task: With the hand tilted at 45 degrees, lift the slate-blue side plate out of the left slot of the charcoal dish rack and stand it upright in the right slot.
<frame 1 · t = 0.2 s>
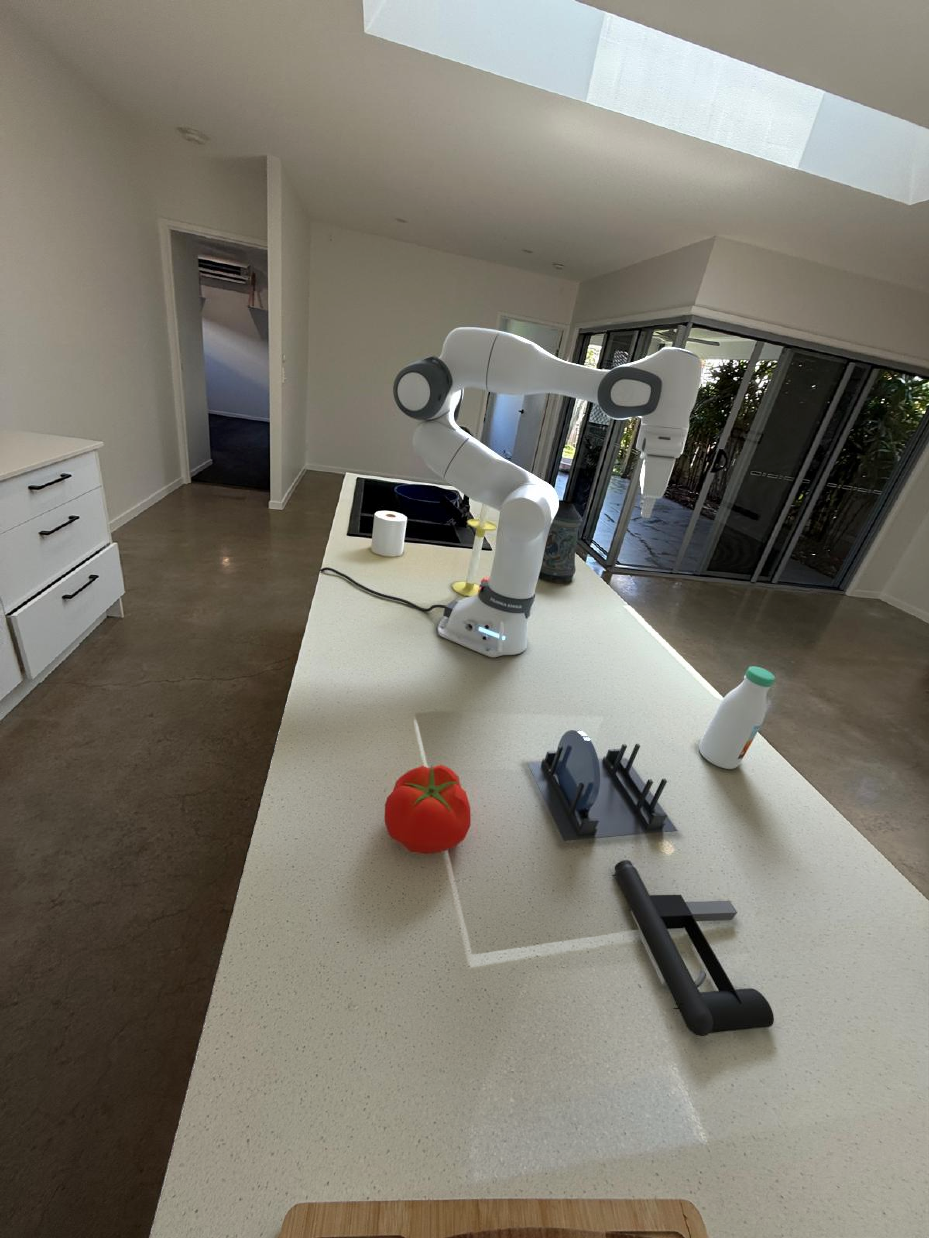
hand: (644, 512, 105), 39 cm above the counter, tool pointing down, fingers open, 8 cm apart
door handle: (690, 944, 65), on the counter
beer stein: (545, 573, 176), on the counter
toilet paper: (386, 551, 167), on the counter
candle: (468, 590, 151), on the counter
rack: (597, 798, 84), on the counter
milk bottle: (717, 756, 101), on the counter
tomato: (425, 830, 73), on the counter
plate: (566, 796, 82), point 1 cm above the counter, touching rack
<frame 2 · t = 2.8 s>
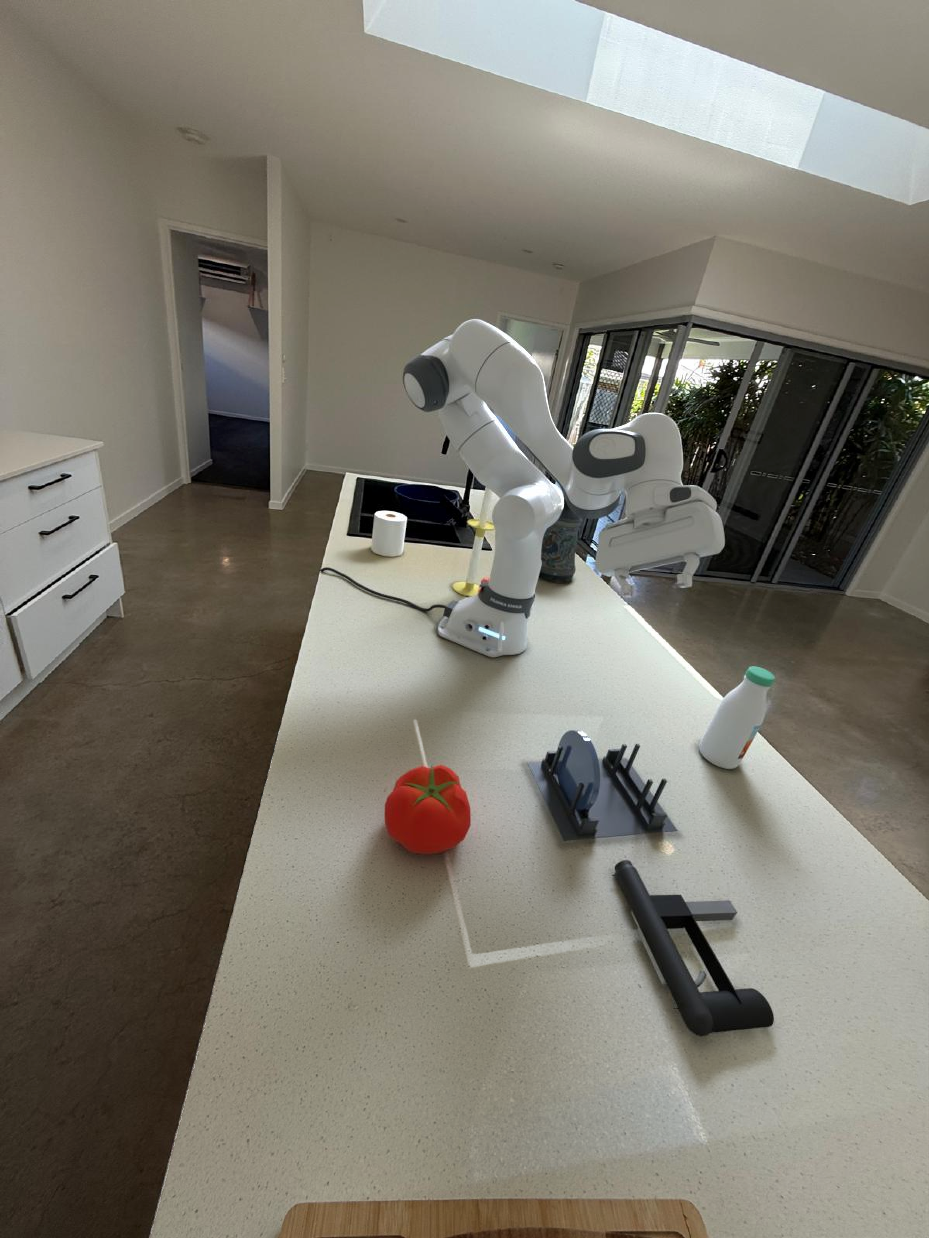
hand: (654, 591, 79), 34 cm above the counter, tool tilted 40°, fingers open, 8 cm apart
nothing on the counter moved.
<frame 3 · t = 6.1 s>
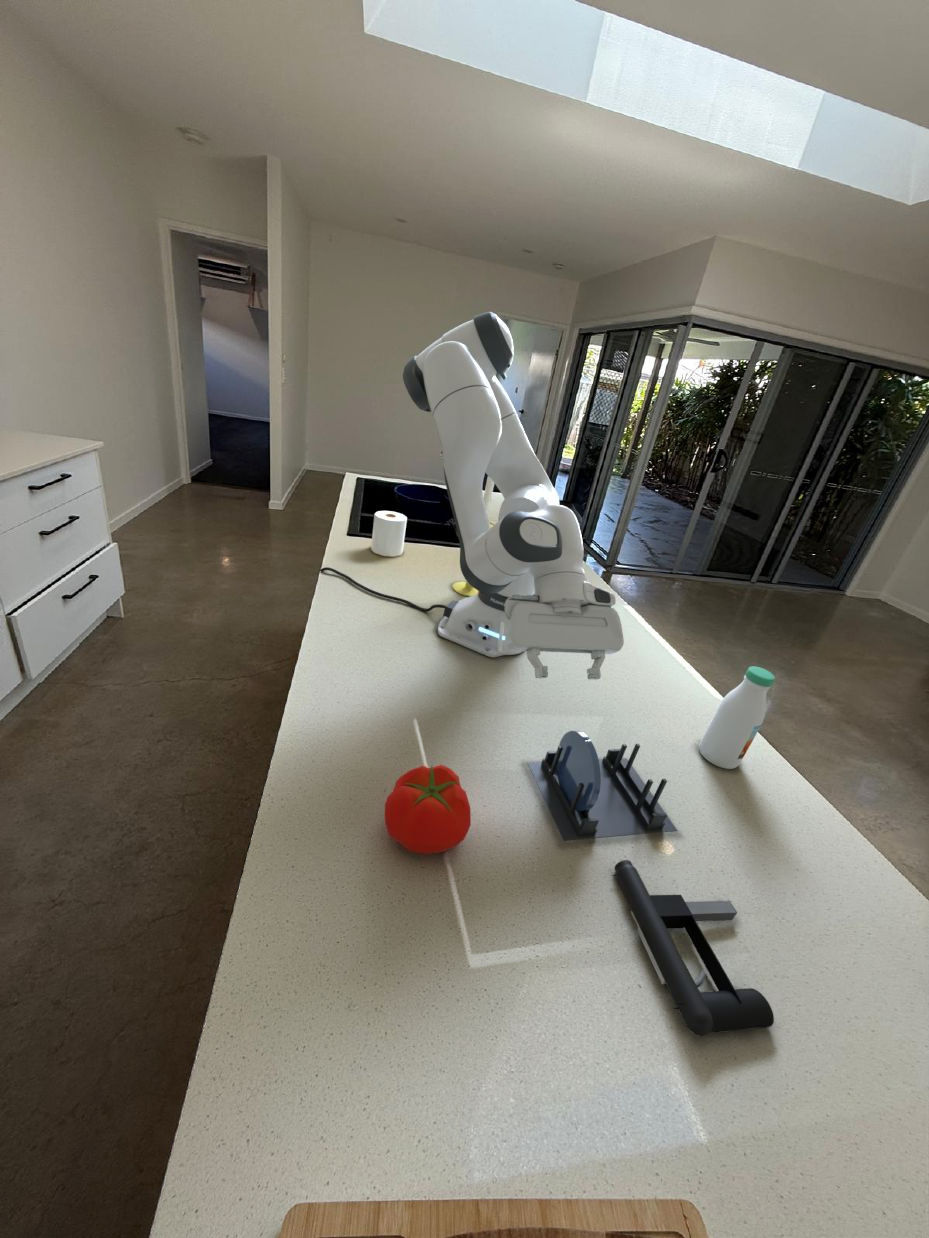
hand: (568, 678, 82), 18 cm above the counter, tool tilted 45°, fingers open, 8 cm apart
nothing on the counter moved.
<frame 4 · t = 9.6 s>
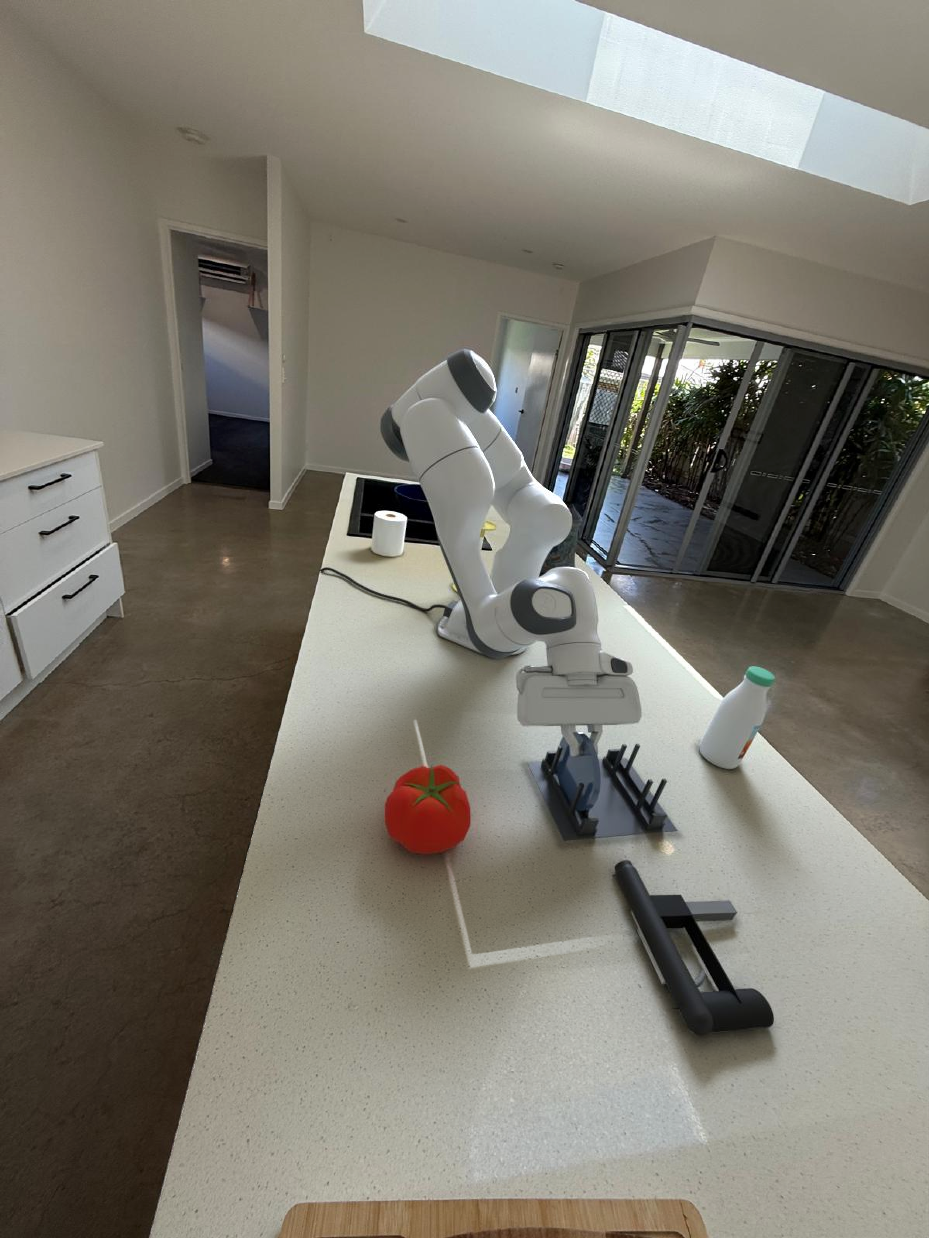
hand: (584, 755, 77), 10 cm above the counter, tool tilted 45°, fingers closed on plate, 1 cm apart
plate: (566, 796, 82), point 1 cm above the counter, touching gripper, rack
everything else where it was.
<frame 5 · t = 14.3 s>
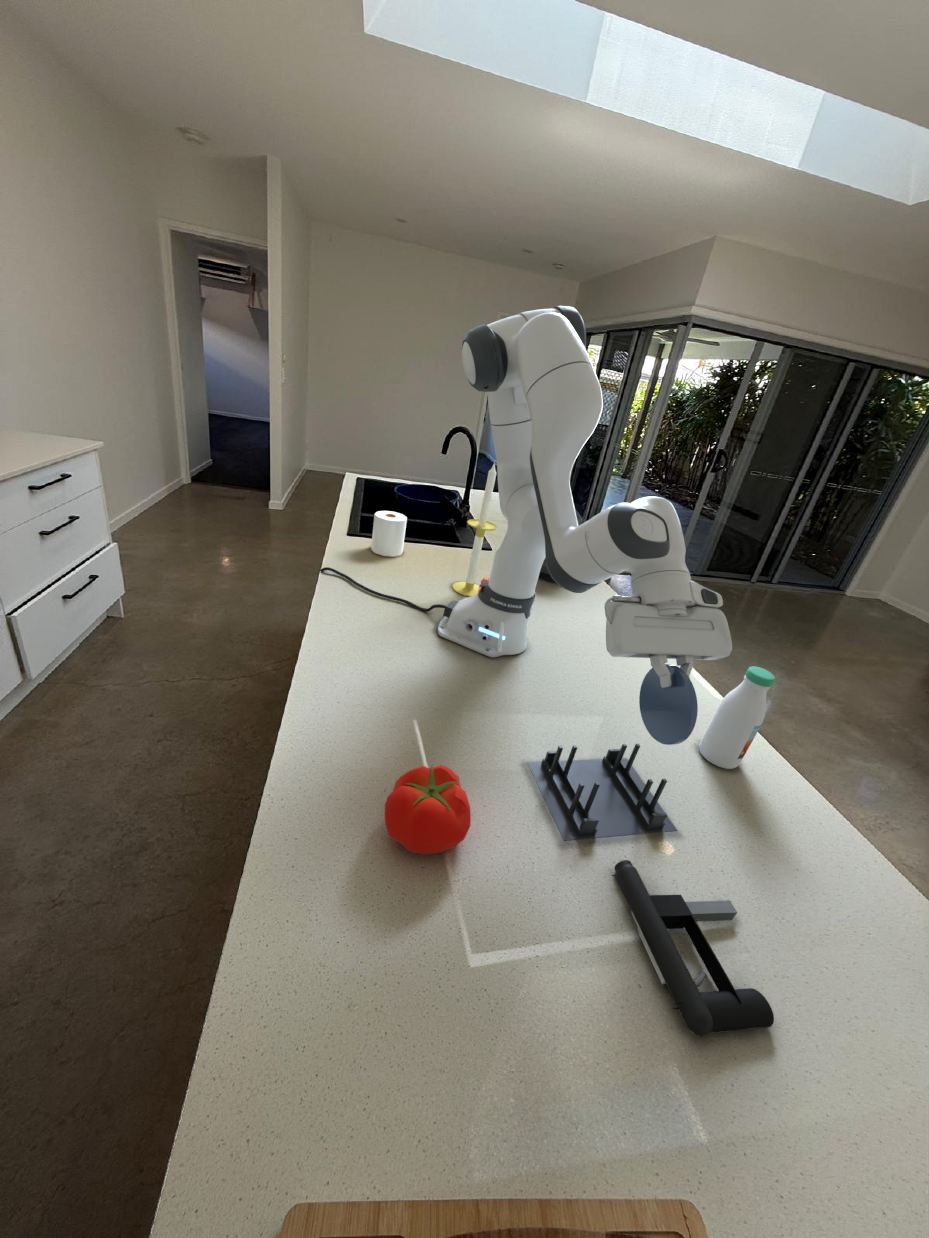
hand: (676, 687, 75), 23 cm above the counter, tool tilted 45°, fingers closed on plate
plate: (652, 733, 79), point 14 cm above the counter, touching gripper
everything else where it was.
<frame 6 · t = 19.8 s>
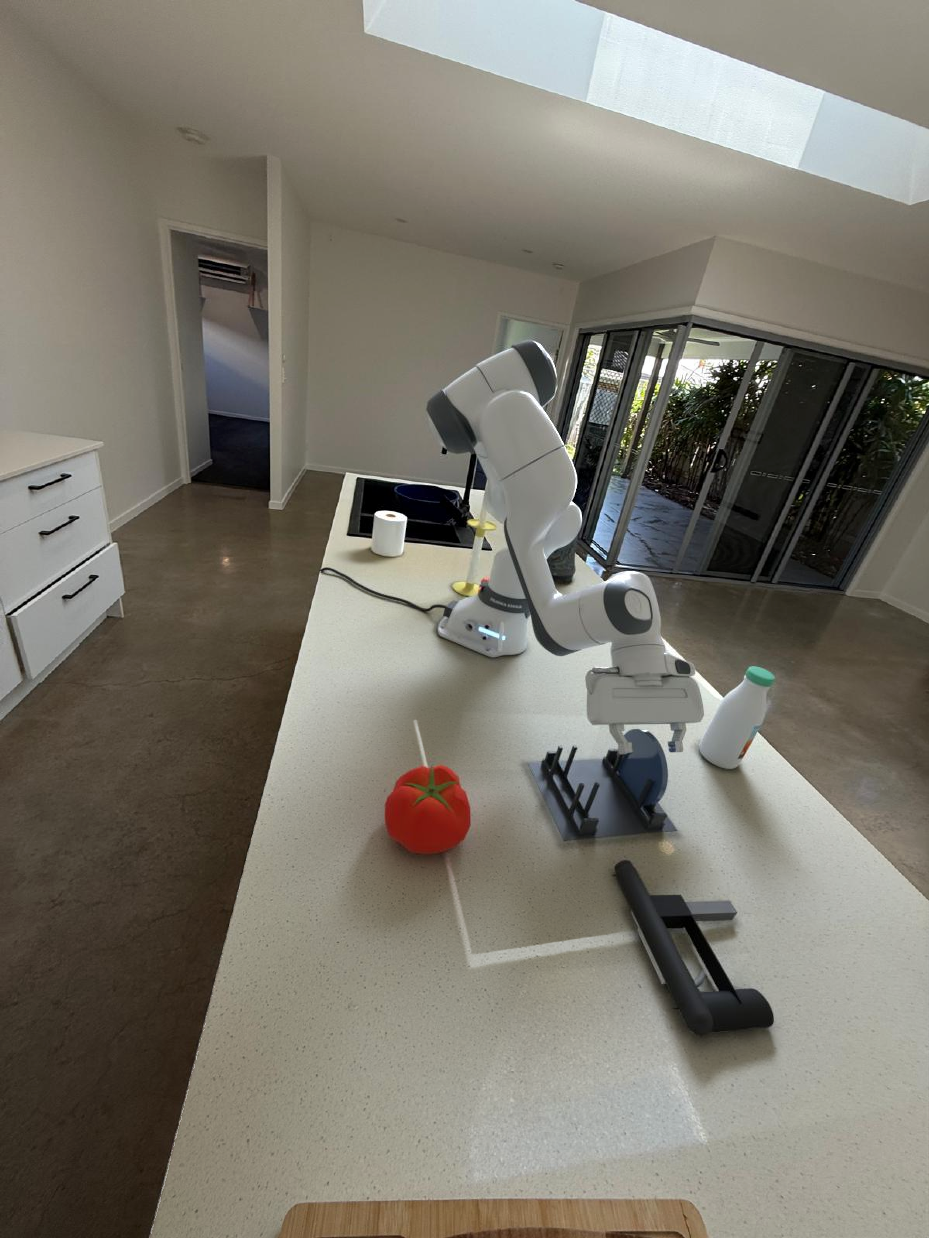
hand: (651, 753, 81), 10 cm above the counter, tool tilted 45°, fingers open, 8 cm apart
plate: (629, 793, 86), point 1 cm above the counter, touching rack
everything else where it was.
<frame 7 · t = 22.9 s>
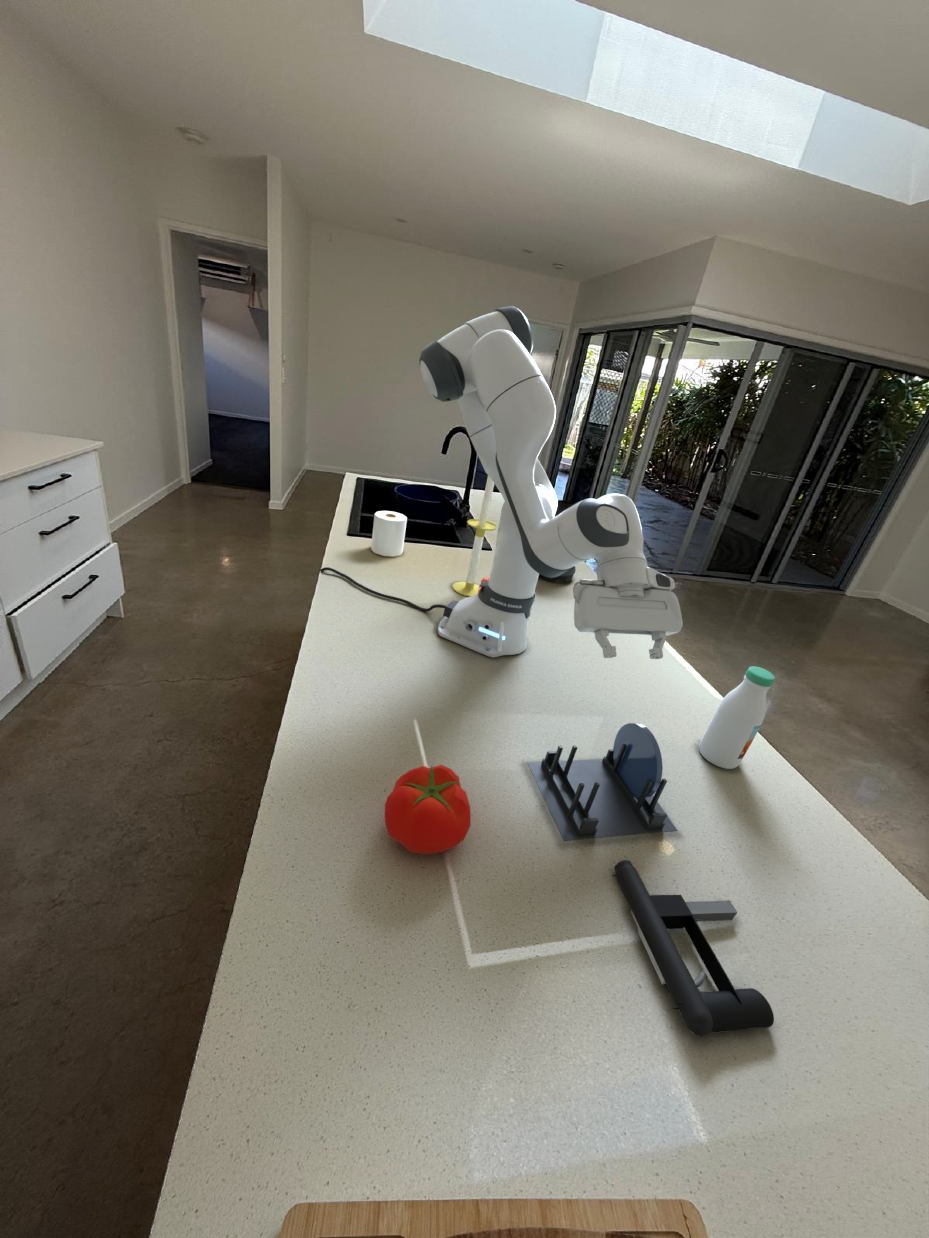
hand: (633, 658, 87), 20 cm above the counter, tool tilted 45°, fingers open, 8 cm apart
plate: (629, 792, 85), point 1 cm above the counter, tilted 15°, touching rack
everything else where it was.
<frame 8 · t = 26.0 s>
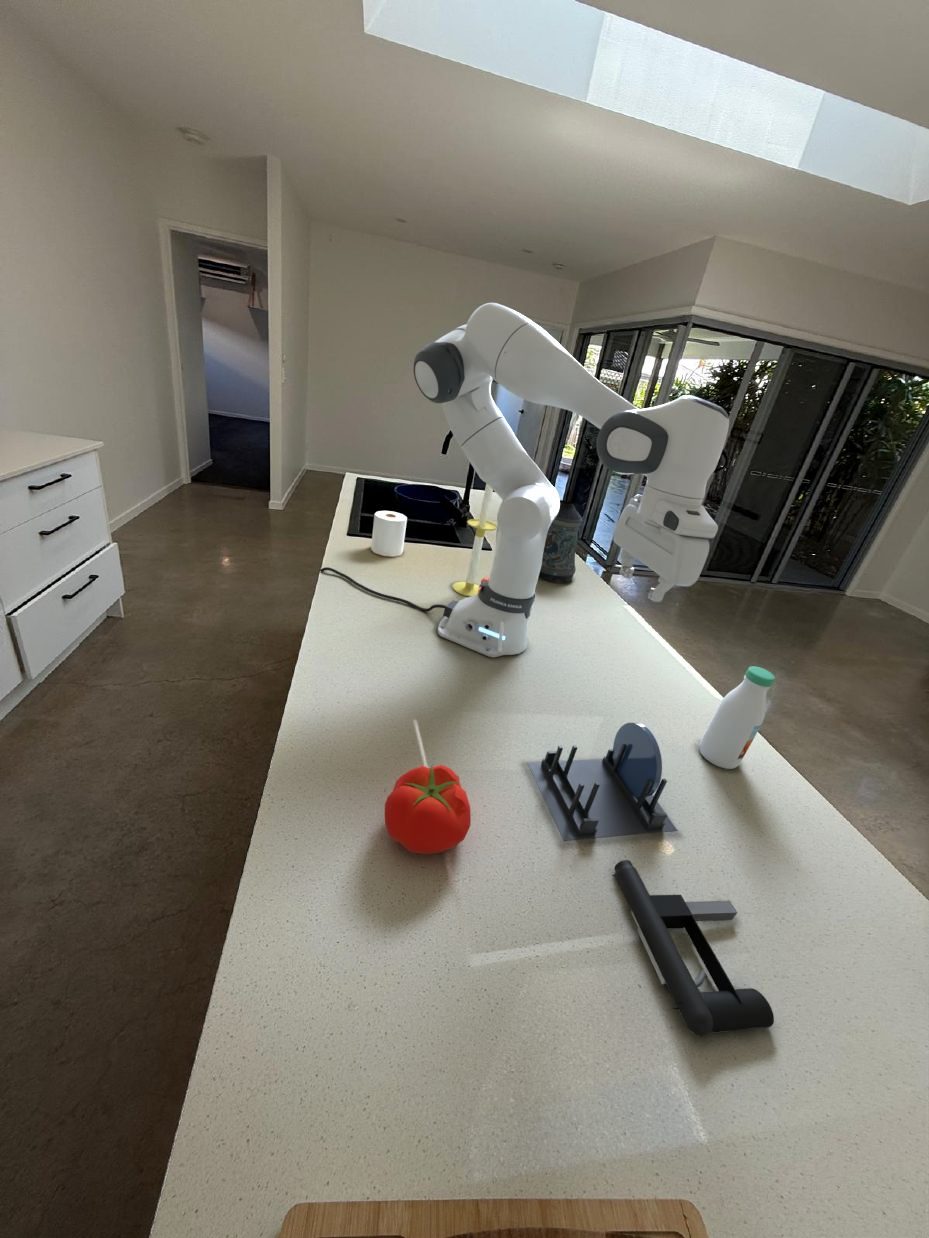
hand: (638, 587, 87), 31 cm above the counter, tool pointing down, fingers open, 8 cm apart
nothing on the counter moved.
at the end: plate 0.3 cm from the target spot on the rack, point 1.0 cm above the rack's base; plate tilted 16°; the gripper is holding nothing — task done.
